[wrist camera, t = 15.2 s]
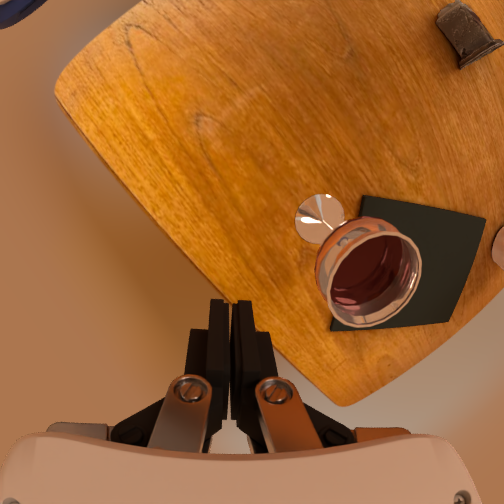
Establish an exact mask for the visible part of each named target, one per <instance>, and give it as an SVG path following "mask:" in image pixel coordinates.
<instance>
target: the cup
mask: <svg viewBox="0 0 504 504" xmlns="http://www.w3.org/2000/svg"><path fill="white" fill-rule="evenodd" d="M492 258H493V261H494V262H495V263H497V264H498V265H499V266H500V267H501V268H502V269H503V270H504V227H502V228H501V229H500V231H499V232H498V234H497V236H496V238H495V240H494V243H493V248H492Z"/></svg>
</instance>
